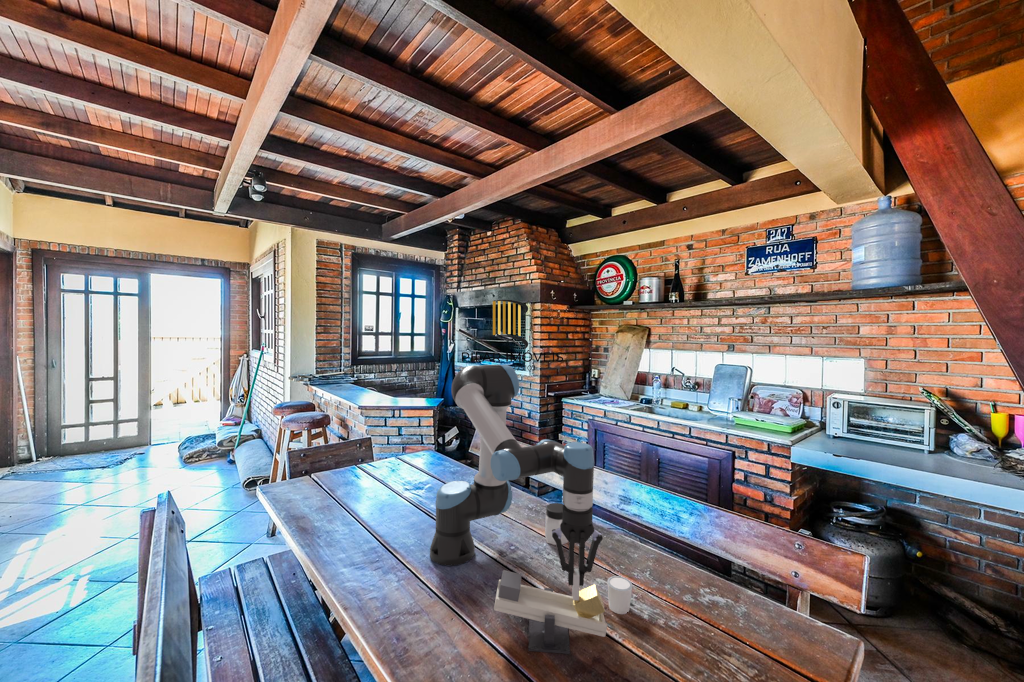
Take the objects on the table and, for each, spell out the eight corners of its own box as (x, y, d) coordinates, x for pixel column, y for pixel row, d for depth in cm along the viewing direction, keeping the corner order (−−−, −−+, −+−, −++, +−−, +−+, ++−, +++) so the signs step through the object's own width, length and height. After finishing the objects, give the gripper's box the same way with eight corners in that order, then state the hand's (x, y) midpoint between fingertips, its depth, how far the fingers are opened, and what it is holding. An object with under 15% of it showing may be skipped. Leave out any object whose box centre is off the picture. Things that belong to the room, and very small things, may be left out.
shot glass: (603, 599, 119) (604, 575, 119) (626, 598, 120) (627, 575, 119) (611, 616, 112) (611, 591, 112) (635, 615, 113) (636, 590, 112)
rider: (573, 605, 103) (597, 595, 103) (572, 593, 108) (594, 584, 107) (581, 621, 103) (605, 611, 103) (579, 609, 108) (602, 599, 107)
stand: (528, 650, 99) (529, 620, 99) (529, 610, 113) (530, 584, 113) (570, 653, 99) (570, 623, 99) (566, 613, 113) (566, 586, 113)
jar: (554, 548, 146) (555, 515, 145) (540, 538, 153) (540, 506, 152) (573, 541, 151) (574, 509, 150) (558, 531, 158) (559, 501, 157)
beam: (493, 611, 102) (498, 587, 102) (497, 588, 111) (501, 566, 111) (605, 638, 101) (610, 614, 101) (599, 613, 110) (604, 591, 109)
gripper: (552, 510, 101) (550, 605, 102) (606, 513, 100) (603, 608, 101) (551, 498, 109) (549, 586, 109) (601, 500, 108) (599, 589, 108)
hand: (575, 596), depth 105 cm, fingers closed
